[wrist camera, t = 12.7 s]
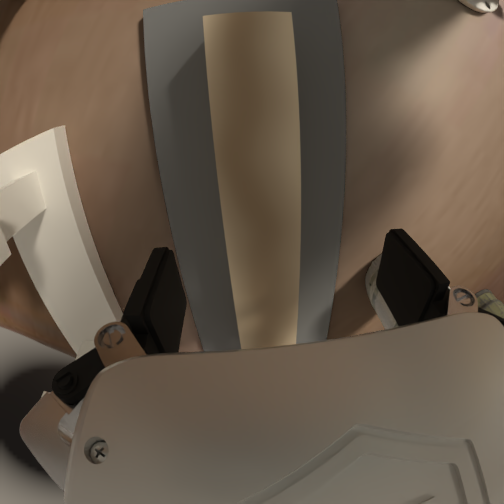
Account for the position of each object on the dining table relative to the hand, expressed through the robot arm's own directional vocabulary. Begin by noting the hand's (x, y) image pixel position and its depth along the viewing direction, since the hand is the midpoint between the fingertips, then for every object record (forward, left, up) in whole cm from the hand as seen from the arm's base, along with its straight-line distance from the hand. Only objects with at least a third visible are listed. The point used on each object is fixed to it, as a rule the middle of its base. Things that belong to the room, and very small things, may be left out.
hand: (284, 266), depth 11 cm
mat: (+1, +1, -8) cm, 8 cm away
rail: (+1, +1, -7) cm, 7 cm away
